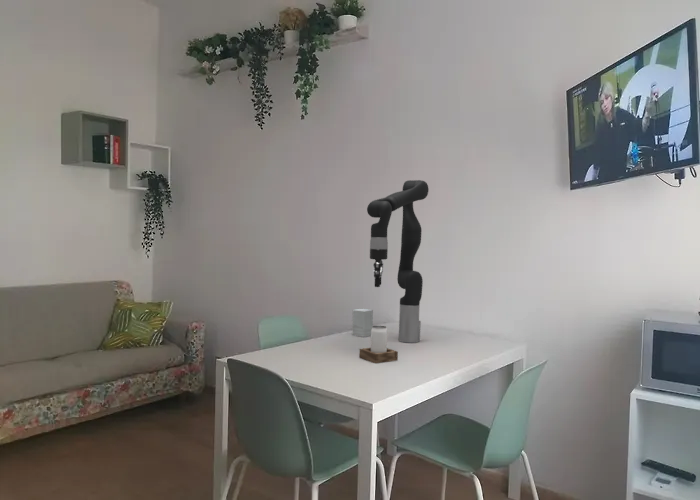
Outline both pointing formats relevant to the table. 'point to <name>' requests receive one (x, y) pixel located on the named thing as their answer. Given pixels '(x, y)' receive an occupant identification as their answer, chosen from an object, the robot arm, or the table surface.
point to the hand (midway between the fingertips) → (377, 285)
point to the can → (379, 339)
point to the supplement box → (362, 322)
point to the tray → (378, 355)
